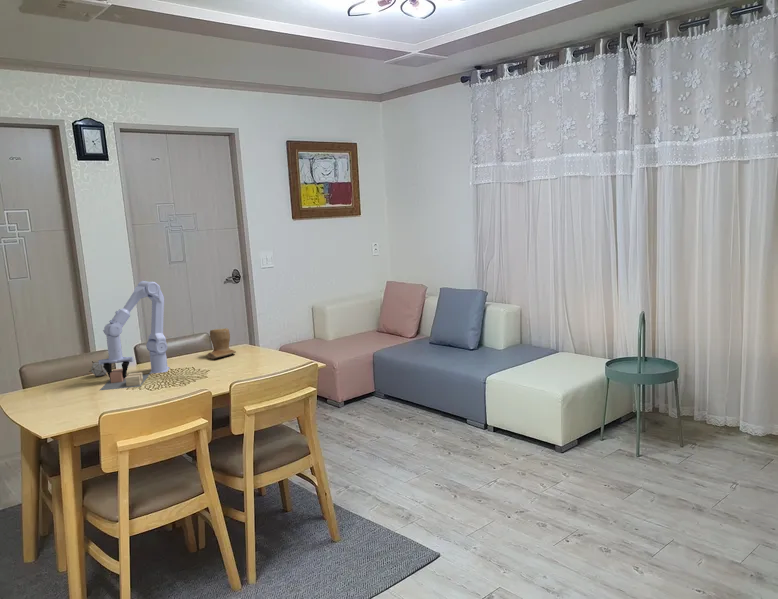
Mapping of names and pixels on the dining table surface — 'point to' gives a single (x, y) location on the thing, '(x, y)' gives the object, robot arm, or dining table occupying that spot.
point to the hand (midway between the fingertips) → (118, 378)
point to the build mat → (121, 384)
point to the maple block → (134, 379)
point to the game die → (98, 369)
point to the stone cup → (220, 343)
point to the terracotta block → (117, 376)
